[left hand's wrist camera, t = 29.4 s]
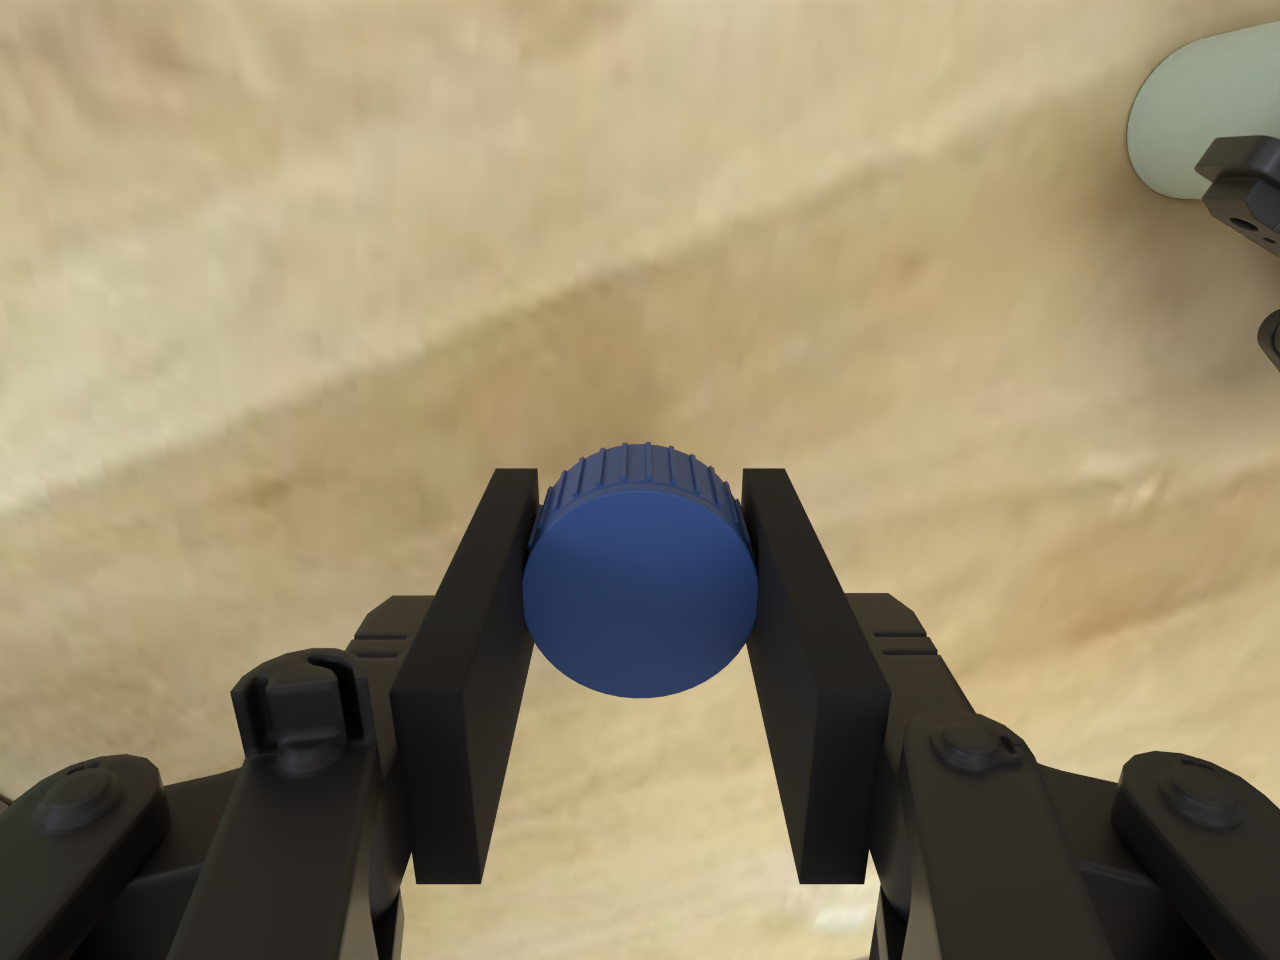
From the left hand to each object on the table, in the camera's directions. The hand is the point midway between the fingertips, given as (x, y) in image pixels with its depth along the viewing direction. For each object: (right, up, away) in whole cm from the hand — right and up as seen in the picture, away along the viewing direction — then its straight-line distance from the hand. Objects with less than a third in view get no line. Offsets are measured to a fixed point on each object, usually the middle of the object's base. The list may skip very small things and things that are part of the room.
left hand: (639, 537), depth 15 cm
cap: (0, -1, -2) cm, 2 cm away
